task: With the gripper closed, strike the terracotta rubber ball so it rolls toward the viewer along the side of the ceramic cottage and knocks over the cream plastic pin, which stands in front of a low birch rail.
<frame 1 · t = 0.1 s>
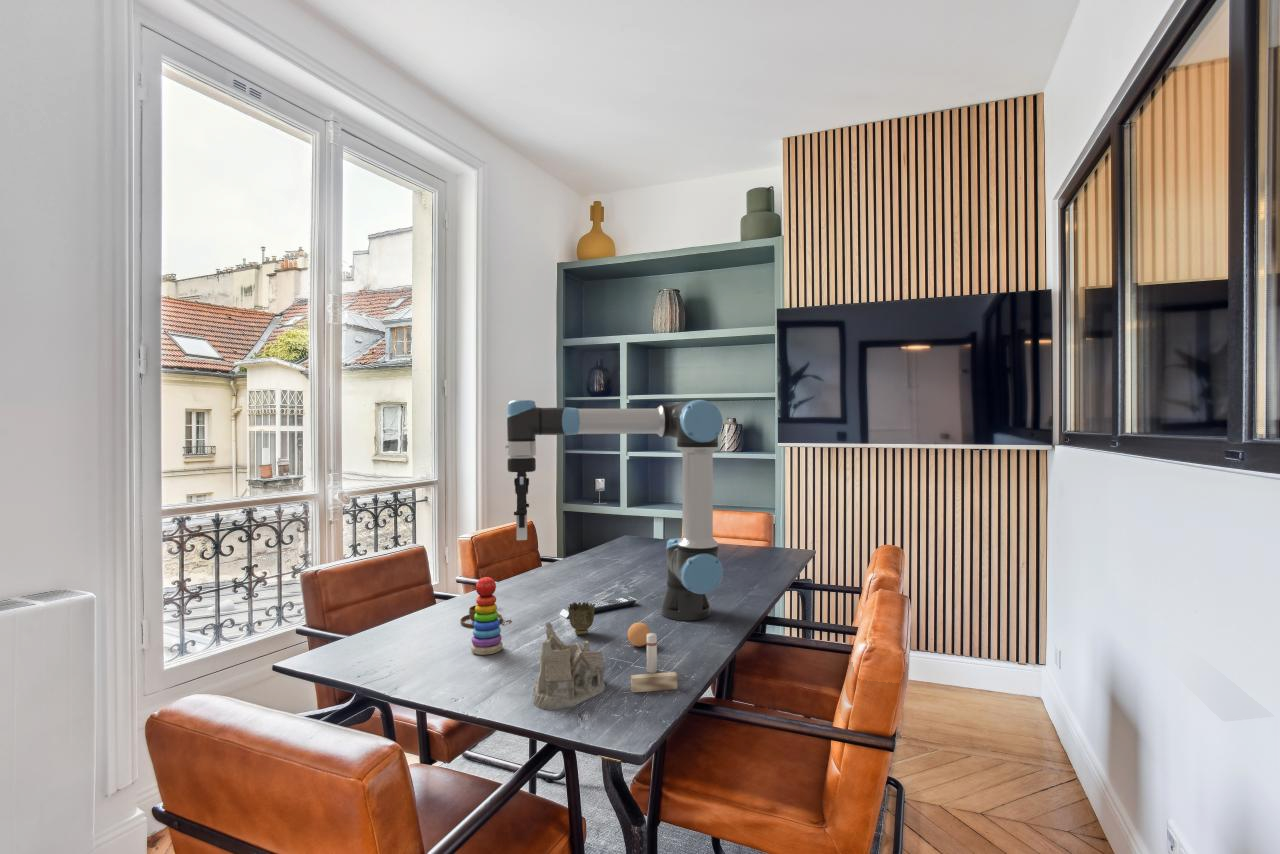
hand: (522, 535, 171), 28 cm above the table, tool pointing down, fingers open, 13 cm apart
place setting: (489, 620, 190), on the table
stopper rail: (654, 688, 138), on the table
cup: (581, 634, 175), on the table
ceramic cottage: (568, 693, 137), on the table
pin: (651, 670, 149), on the table
ball: (639, 634, 165), on the table
stacking toy: (487, 651, 162), on the table
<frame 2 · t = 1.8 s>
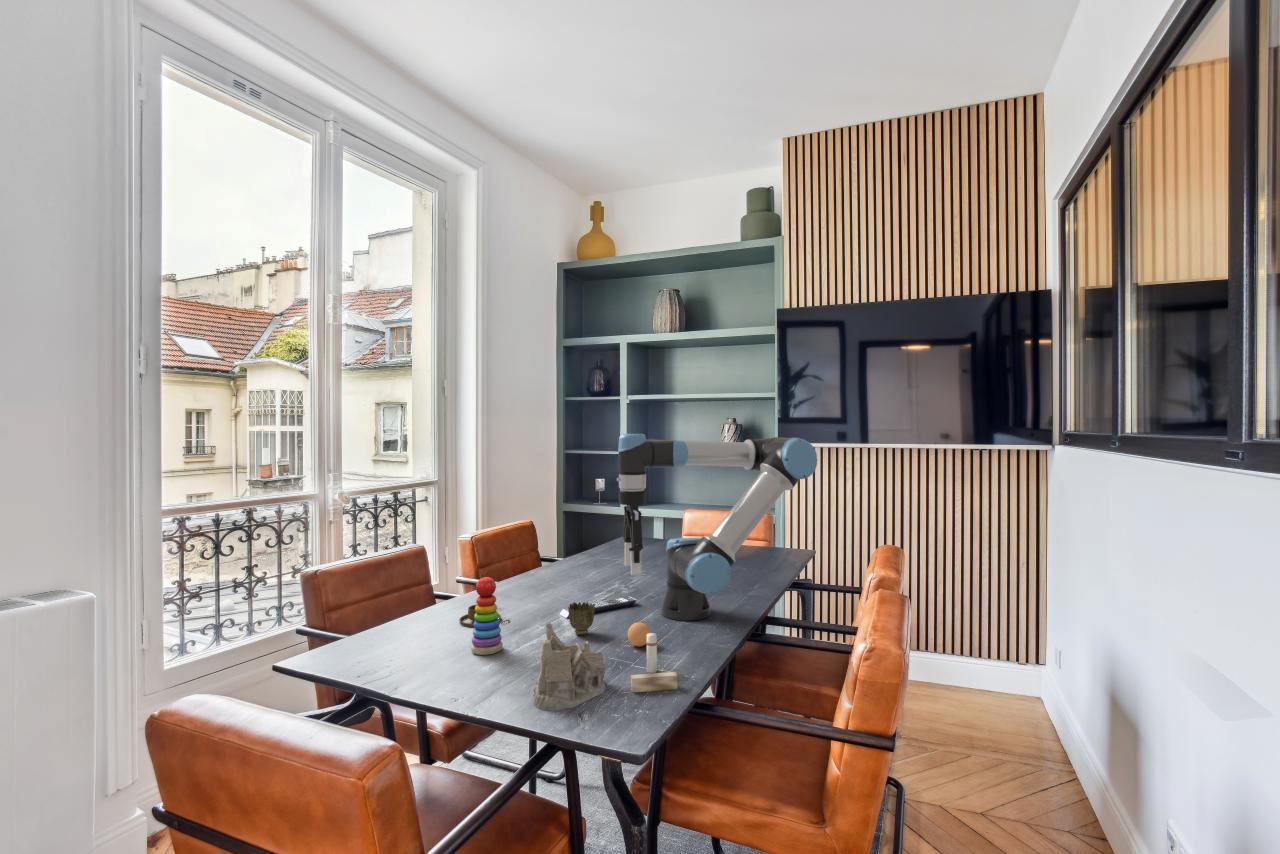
hand: (632, 569, 175), 18 cm above the table, tool pointing down, fingers open, 10 cm apart
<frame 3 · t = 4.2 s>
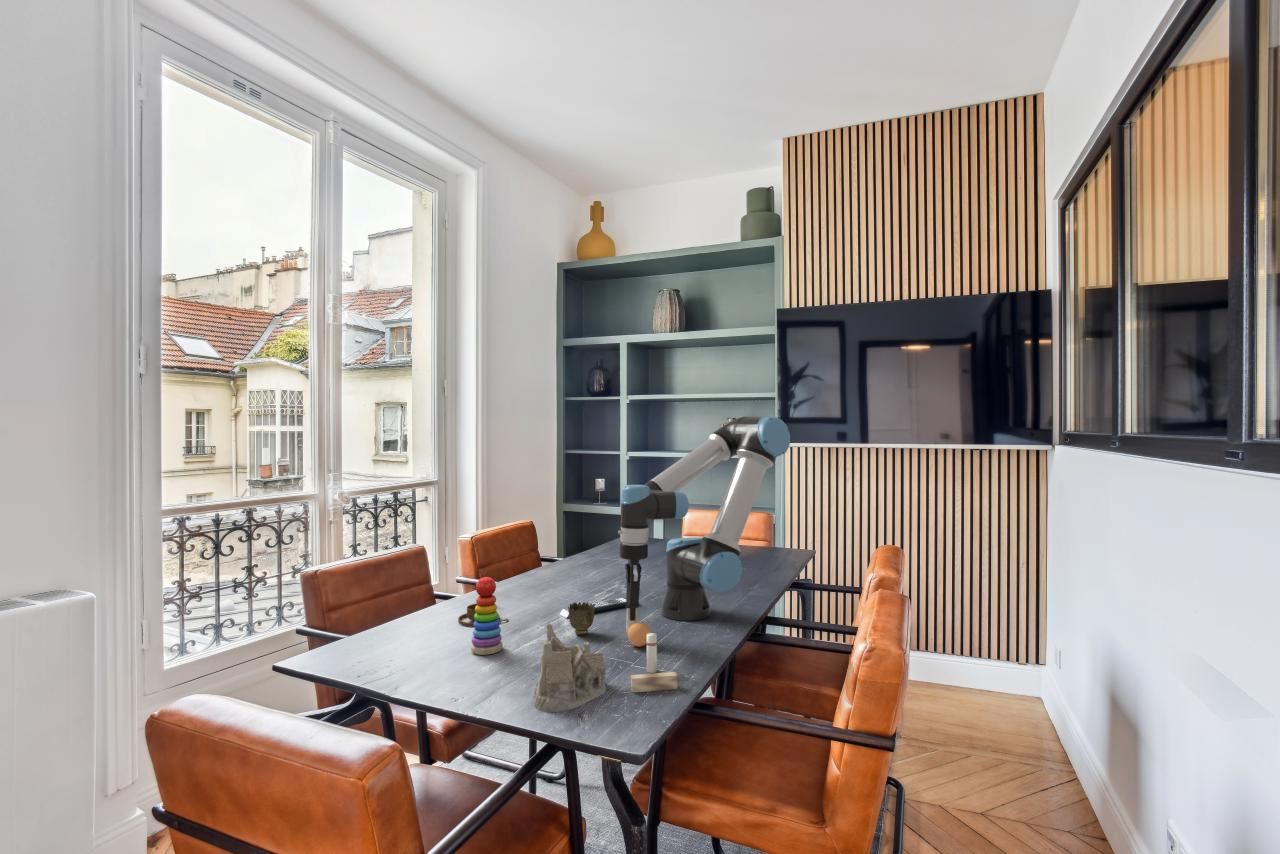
hand: (631, 631, 169), 3 cm above the table, tool pointing down, fingers closed
ball: (639, 634, 165), on the table, touching gripper
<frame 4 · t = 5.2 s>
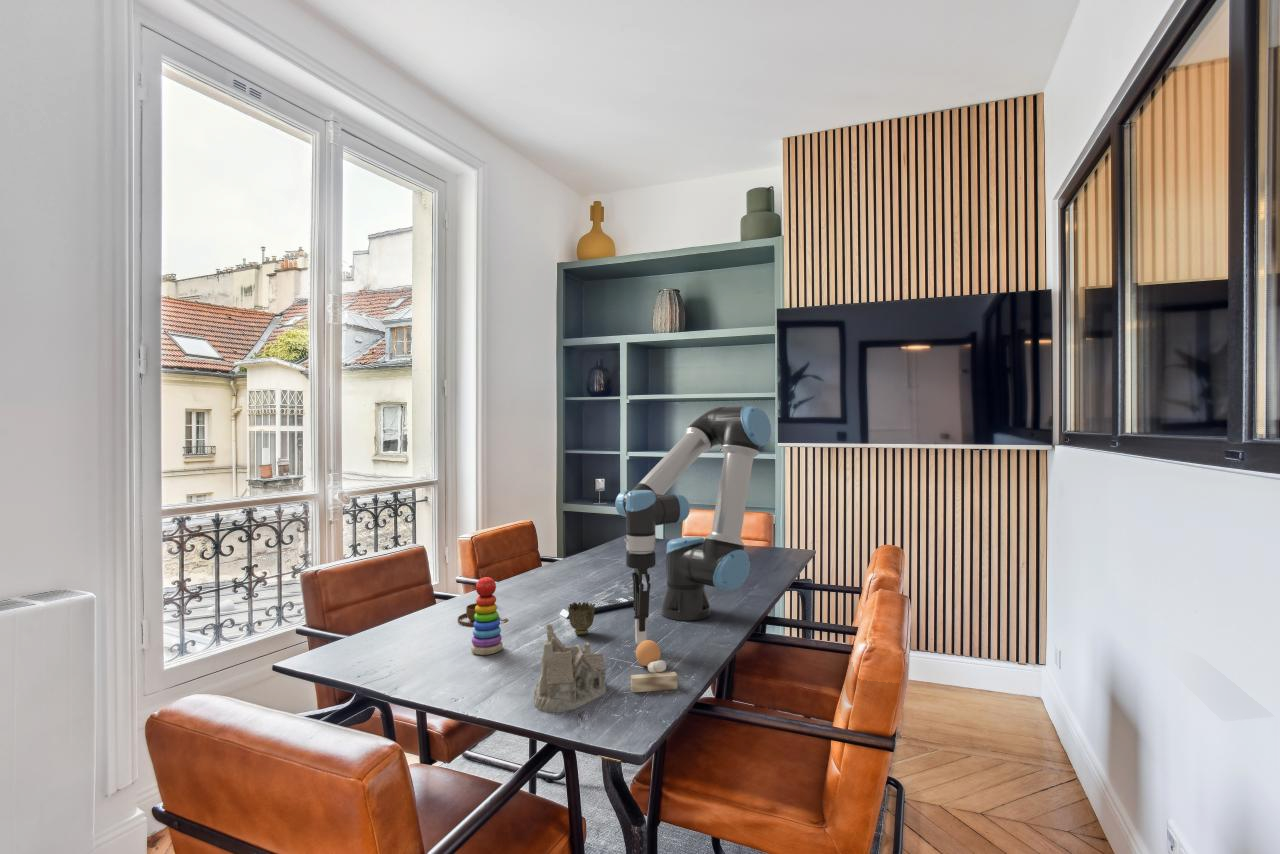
hand: (641, 642, 162), 2 cm above the table, tool pointing down, fingers closed
pin: (652, 667, 148), point 1 cm above the table, tilted 67°
ball: (648, 653, 152), on the table
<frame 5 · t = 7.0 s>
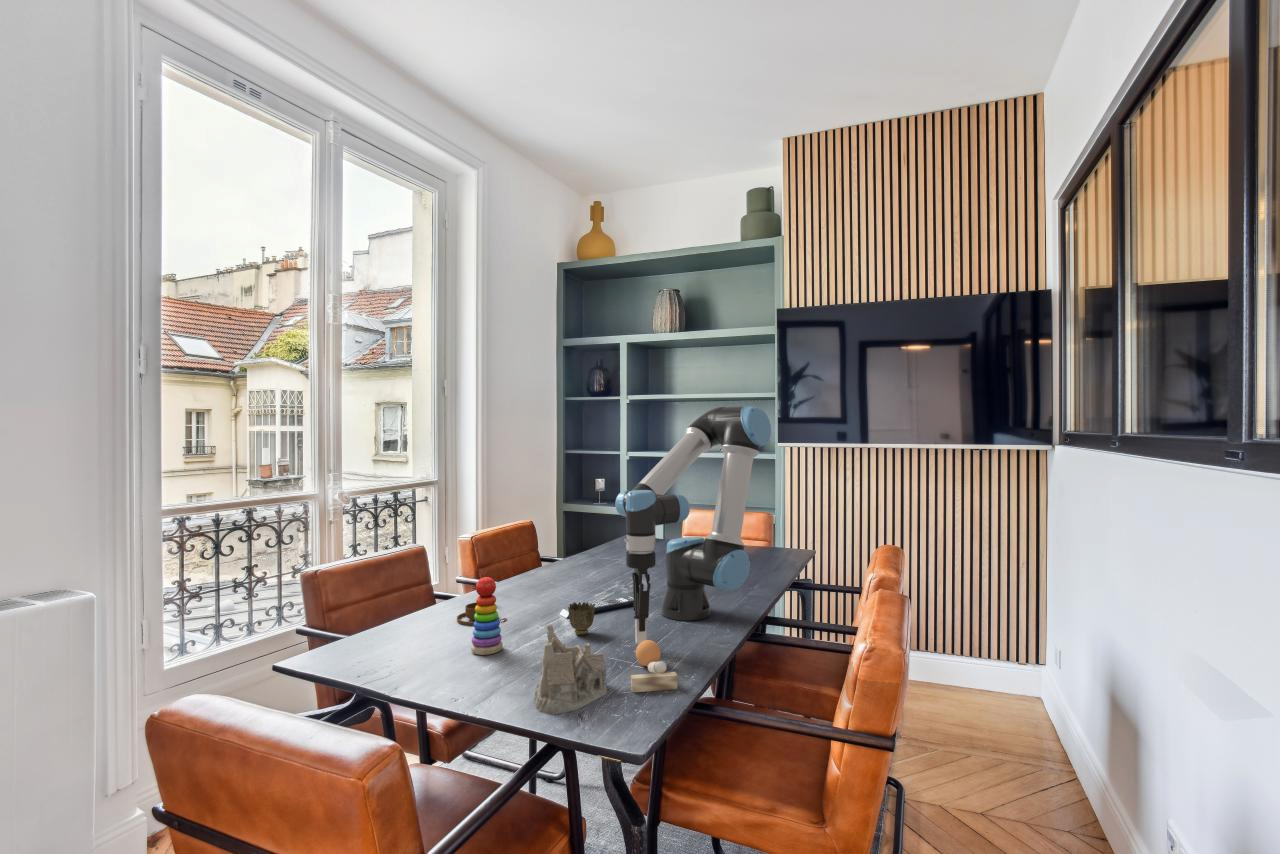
hand: (641, 642, 162), 2 cm above the table, tool pointing down, fingers closed
pin: (652, 667, 148), point 1 cm above the table, tilted 69°, touching stopper rail
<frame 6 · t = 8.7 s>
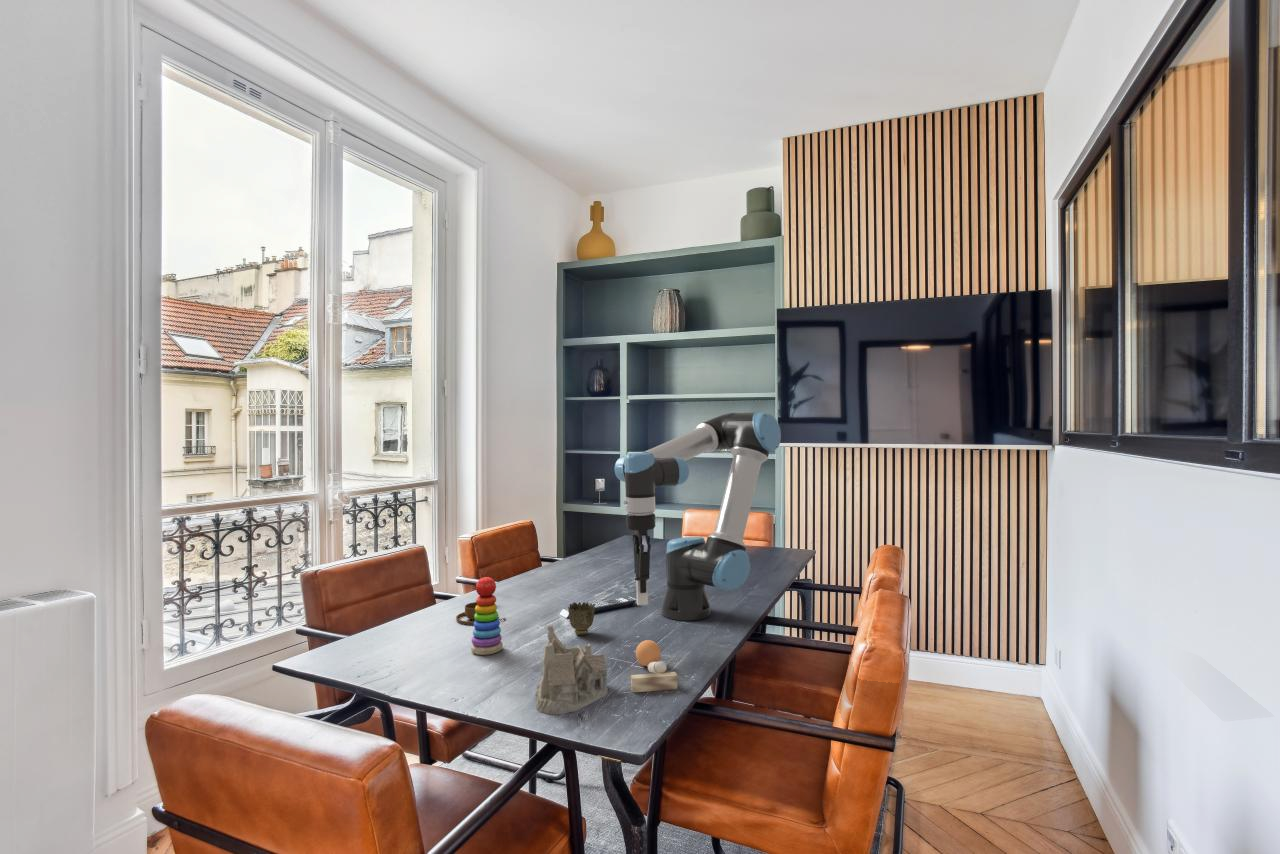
hand: (642, 604, 163), 12 cm above the table, tool pointing down, fingers closed
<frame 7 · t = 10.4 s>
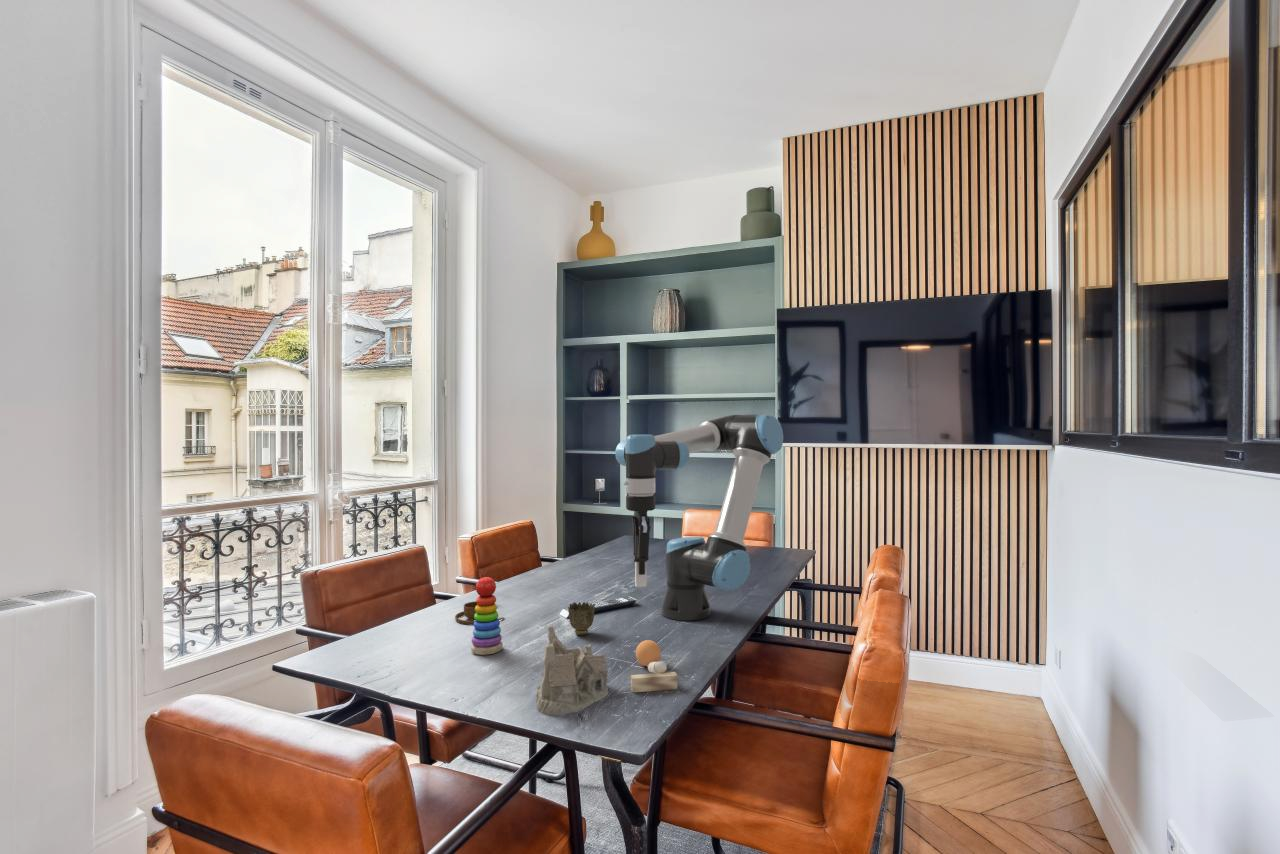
hand: (640, 586, 162), 16 cm above the table, tool pointing down, fingers closed
at the end: pin tilted 69°; pin never touched the robot; ball moved 13.8 cm from its start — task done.
